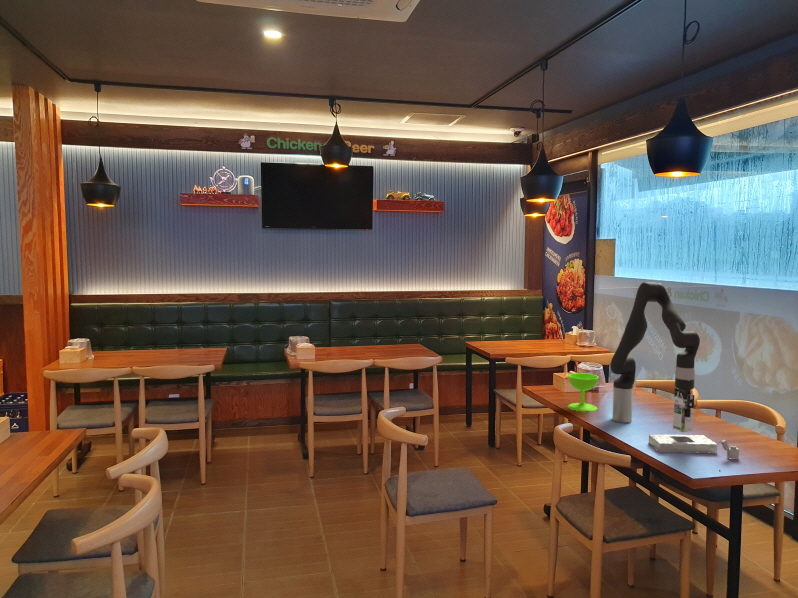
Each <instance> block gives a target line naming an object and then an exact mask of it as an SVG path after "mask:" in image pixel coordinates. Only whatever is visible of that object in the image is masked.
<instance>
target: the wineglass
mask: <svg viewBox="0 0 798 598" xmlns="http://www.w3.org/2000/svg"><path fill="white" fill-rule="evenodd" d="M567 377H568V382H569V384H571V386H572V387H573V388H574V389H576V390H578V391H580V402H573V403H570V404H568V405H567V407H568V408H570V409H572V410H571V411H573V410H576V411H575V412H577V411H595V412H597V411H598V410H597V409H598V407H597V406H595V405H594V404H590V403H586V402H585V400H586V399H585V398H586V397H585V392H587V391H591V390H592V389H594V388H595V387H596V386H597V384H598V383H599V376H598V375H596V374H592V373H583V372H582V373H581V372H574V373H569V374H568V375H567ZM568 408H567V409H568ZM570 409H569V410H570ZM596 410H597V411H596Z"/></svg>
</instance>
